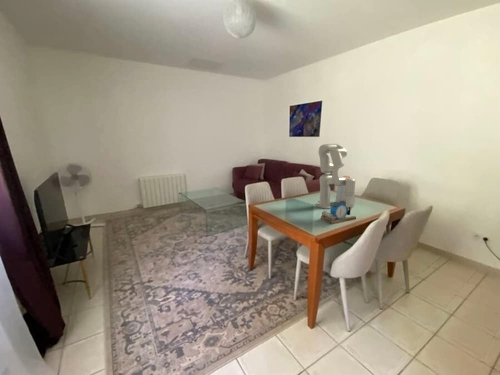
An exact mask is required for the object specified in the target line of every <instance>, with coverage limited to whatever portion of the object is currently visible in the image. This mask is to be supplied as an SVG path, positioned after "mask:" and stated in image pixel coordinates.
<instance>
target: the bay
mask: <svg viewBox="0 0 500 375" xmlns="http://www.w3.org/2000/svg"><path fill="white" fill-rule="evenodd" d="M356 219H357V216H354V215H353V216H352V215H351V216H348V217H344V218H342V219H335V224H339V223H342V222H343V223H344V222H348V221H353V220H356Z"/></svg>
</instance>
